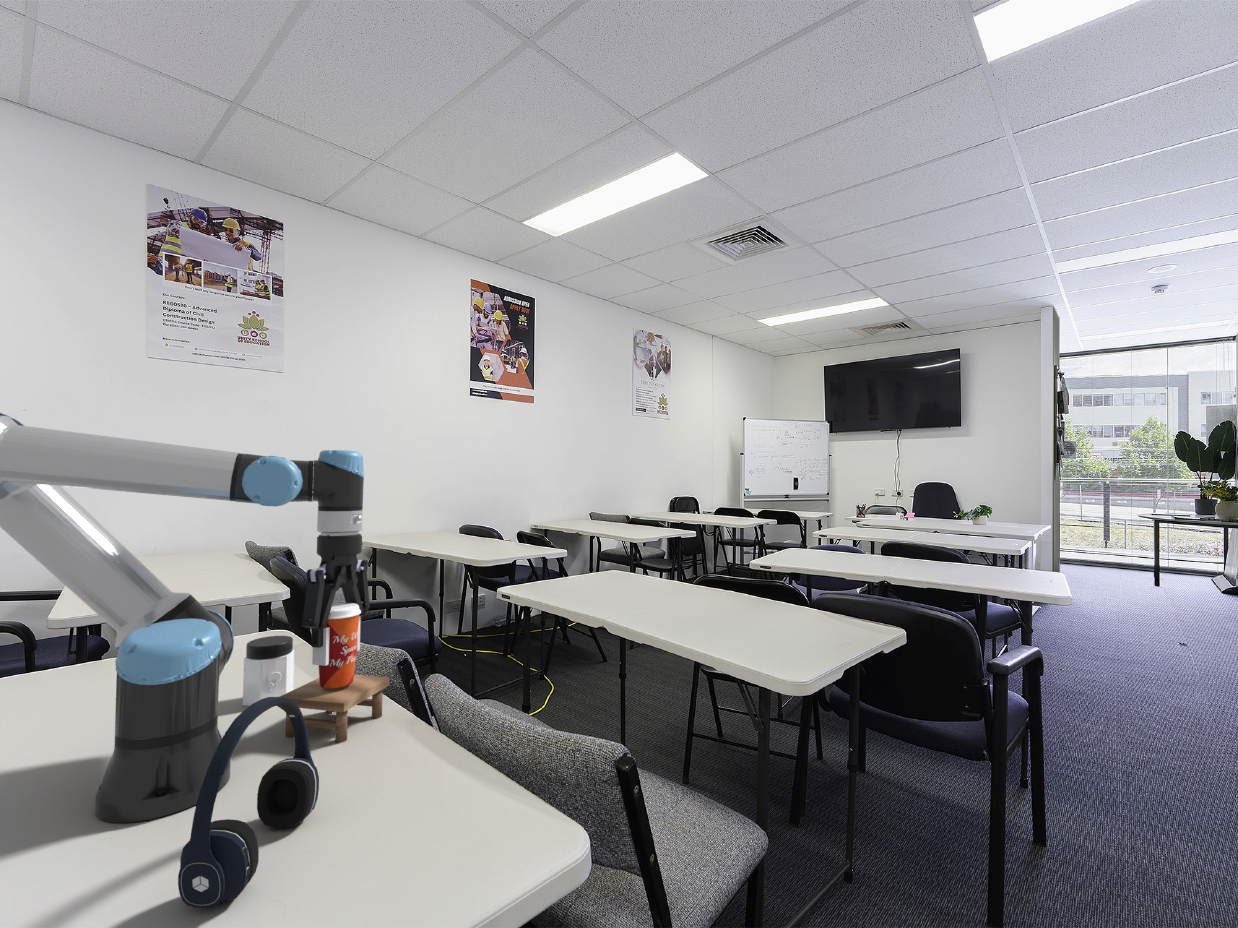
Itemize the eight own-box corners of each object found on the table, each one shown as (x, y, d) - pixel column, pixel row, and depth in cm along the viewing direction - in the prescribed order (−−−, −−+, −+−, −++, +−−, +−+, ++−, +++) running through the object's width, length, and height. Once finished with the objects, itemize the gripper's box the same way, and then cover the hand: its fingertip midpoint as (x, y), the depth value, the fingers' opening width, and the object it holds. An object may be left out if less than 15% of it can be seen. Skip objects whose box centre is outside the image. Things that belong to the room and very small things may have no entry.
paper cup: (340, 692, 99) (342, 612, 99) (303, 688, 100) (304, 610, 101) (369, 677, 106) (370, 603, 107) (333, 673, 108) (335, 600, 108)
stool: (342, 744, 96) (343, 703, 96) (277, 737, 98) (278, 696, 98) (388, 713, 108) (389, 677, 109) (329, 707, 111) (330, 672, 111)
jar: (247, 711, 109) (248, 649, 109) (238, 699, 115) (240, 640, 115) (298, 699, 115) (300, 640, 115) (288, 688, 121) (289, 632, 121)
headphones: (231, 922, 57) (236, 741, 58) (161, 924, 57) (167, 742, 58) (326, 808, 77) (329, 674, 78) (275, 809, 77) (279, 674, 78)
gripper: (317, 539, 93) (313, 677, 93) (391, 529, 114) (388, 642, 113) (278, 538, 95) (274, 674, 94) (358, 528, 115) (355, 640, 114)
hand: (337, 656), depth 104 cm, fingers closed on paper cup, 8 cm apart
